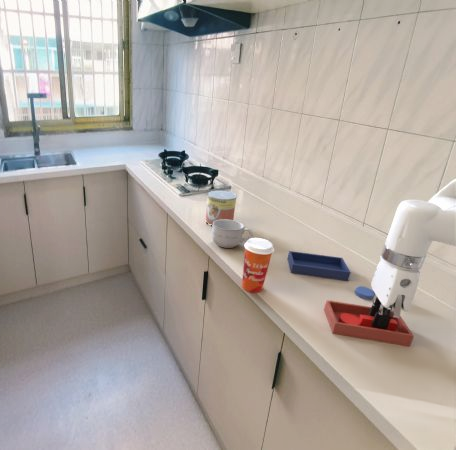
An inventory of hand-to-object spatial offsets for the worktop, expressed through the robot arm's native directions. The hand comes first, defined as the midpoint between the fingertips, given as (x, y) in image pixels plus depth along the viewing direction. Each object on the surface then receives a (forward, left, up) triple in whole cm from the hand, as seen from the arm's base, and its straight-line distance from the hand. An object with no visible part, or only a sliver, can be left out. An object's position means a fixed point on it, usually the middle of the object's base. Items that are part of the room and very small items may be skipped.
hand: (376, 323), depth 81 cm
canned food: (+40, -55, -2) cm, 68 cm away
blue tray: (+8, -26, -2) cm, 27 cm away
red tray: (+2, 0, -2) cm, 3 cm away
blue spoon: (-6, -15, -2) cm, 16 cm away
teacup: (+35, -35, -2) cm, 50 cm away
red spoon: (+2, 0, -1) cm, 3 cm away
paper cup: (+28, -10, -2) cm, 30 cm away
